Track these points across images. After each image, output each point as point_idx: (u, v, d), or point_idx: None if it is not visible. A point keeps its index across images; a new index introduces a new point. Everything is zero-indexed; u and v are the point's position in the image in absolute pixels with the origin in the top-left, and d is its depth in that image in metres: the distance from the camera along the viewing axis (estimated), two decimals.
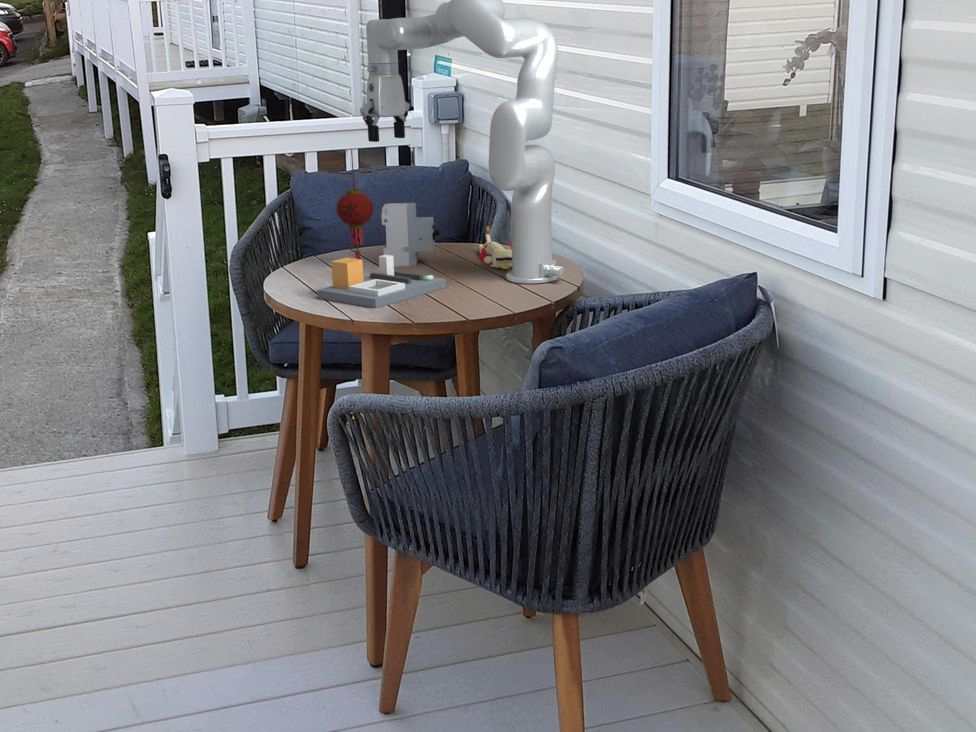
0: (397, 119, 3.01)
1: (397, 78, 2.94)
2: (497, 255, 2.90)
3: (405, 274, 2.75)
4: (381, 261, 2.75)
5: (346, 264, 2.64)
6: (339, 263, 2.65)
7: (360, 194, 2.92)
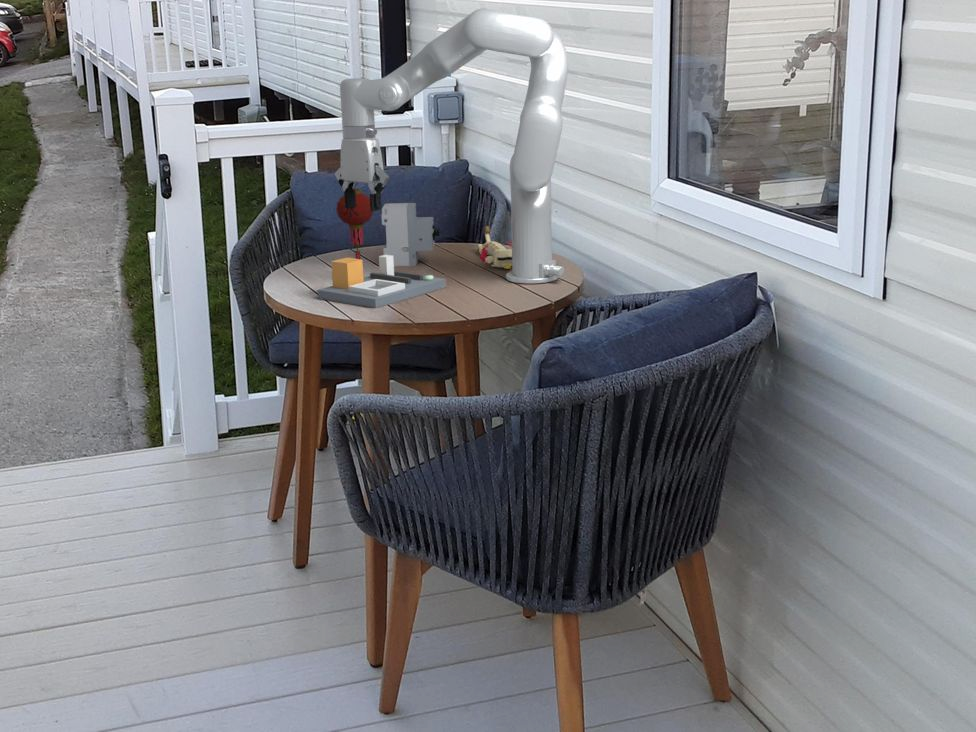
0: (348, 187, 2.77)
1: None
2: (498, 255, 2.90)
3: (405, 274, 2.75)
4: (381, 261, 2.75)
5: (346, 264, 2.64)
6: (339, 263, 2.65)
7: (360, 194, 2.92)
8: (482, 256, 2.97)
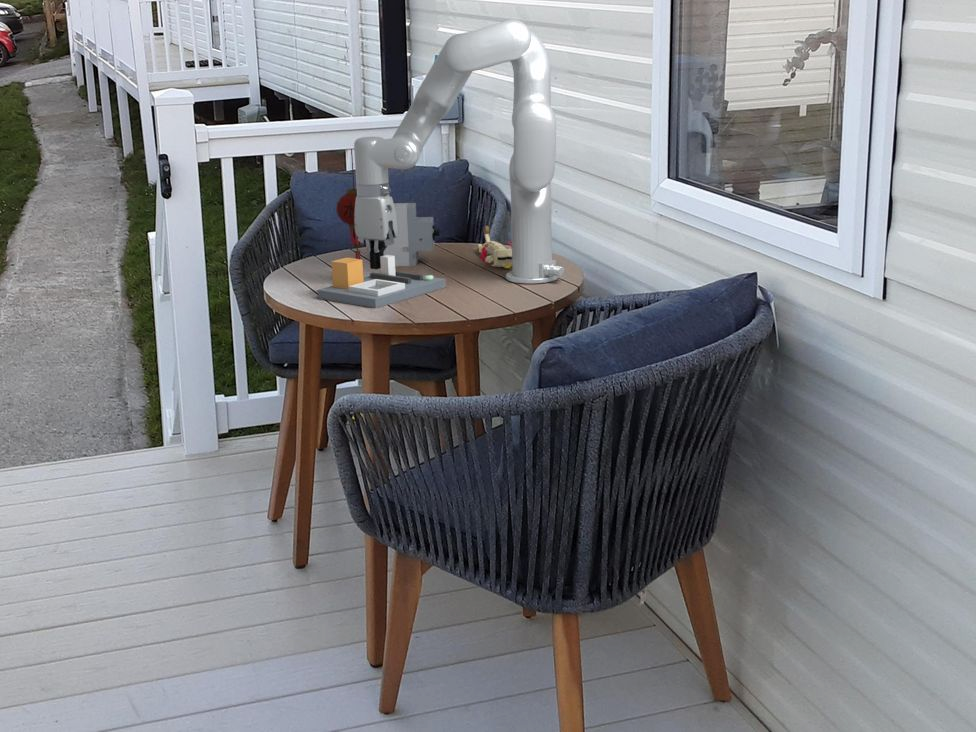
0: (372, 246, 2.76)
1: None
2: (499, 254, 2.91)
3: (405, 274, 2.75)
4: (383, 261, 2.74)
5: (346, 264, 2.64)
6: (339, 263, 2.65)
7: None
8: (482, 256, 2.97)
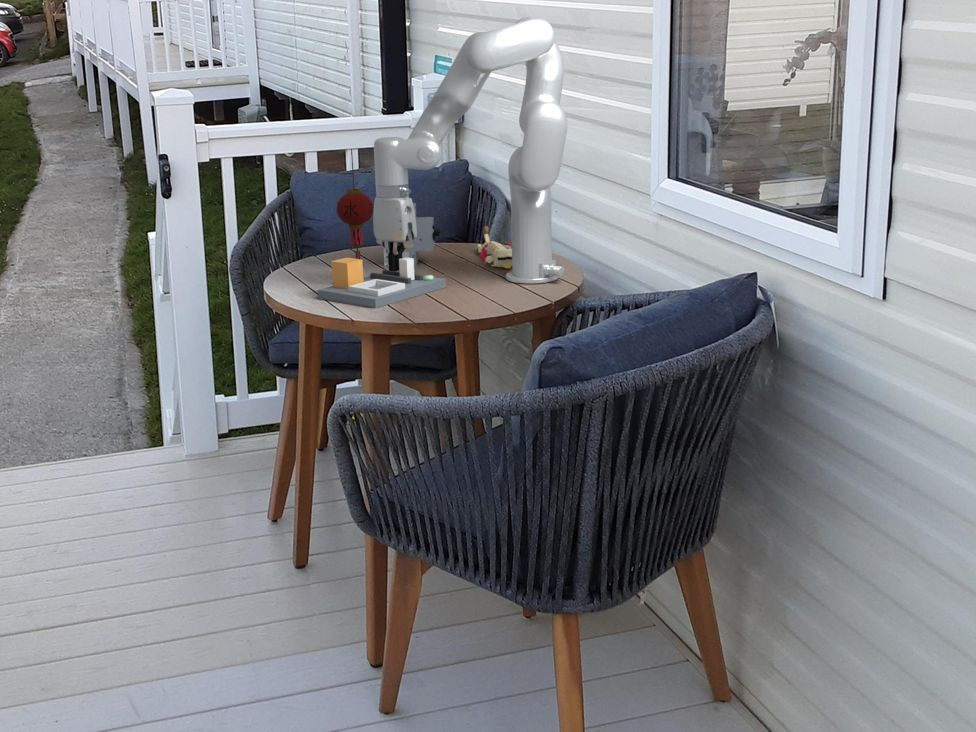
0: (391, 248, 2.73)
1: None
2: (499, 254, 2.91)
3: None
4: (402, 264, 2.71)
5: (346, 264, 2.64)
6: (339, 263, 2.65)
7: (360, 194, 2.92)
8: (482, 256, 2.97)
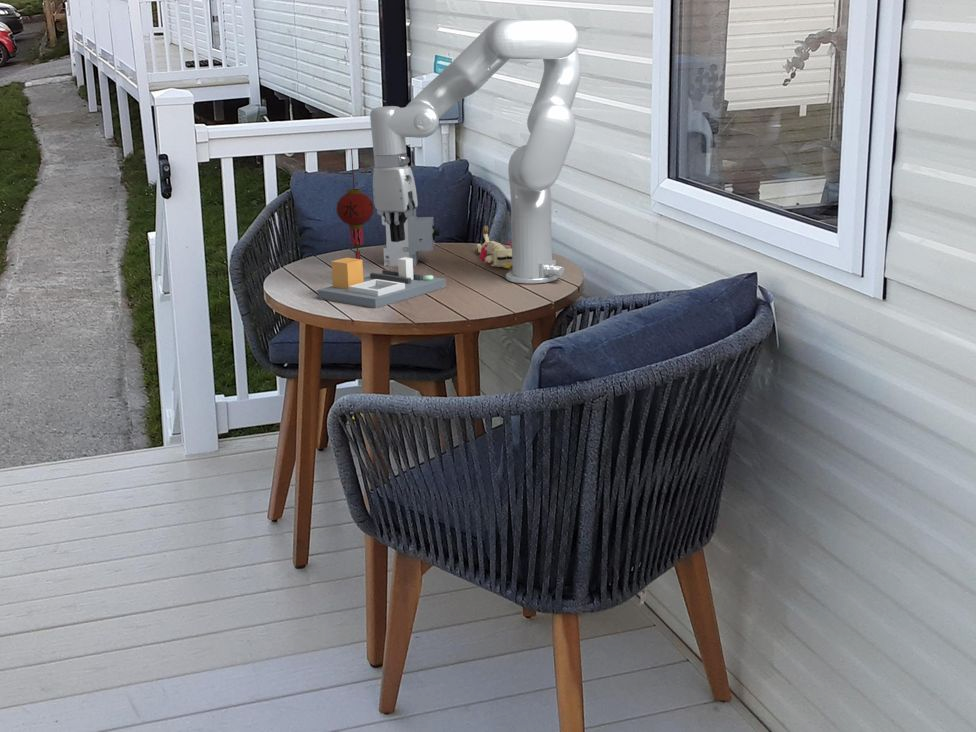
0: (392, 218, 2.71)
1: None
2: (498, 254, 2.91)
3: None
4: (401, 264, 2.71)
5: (346, 264, 2.64)
6: (339, 263, 2.65)
7: (360, 194, 2.92)
8: (482, 256, 2.97)
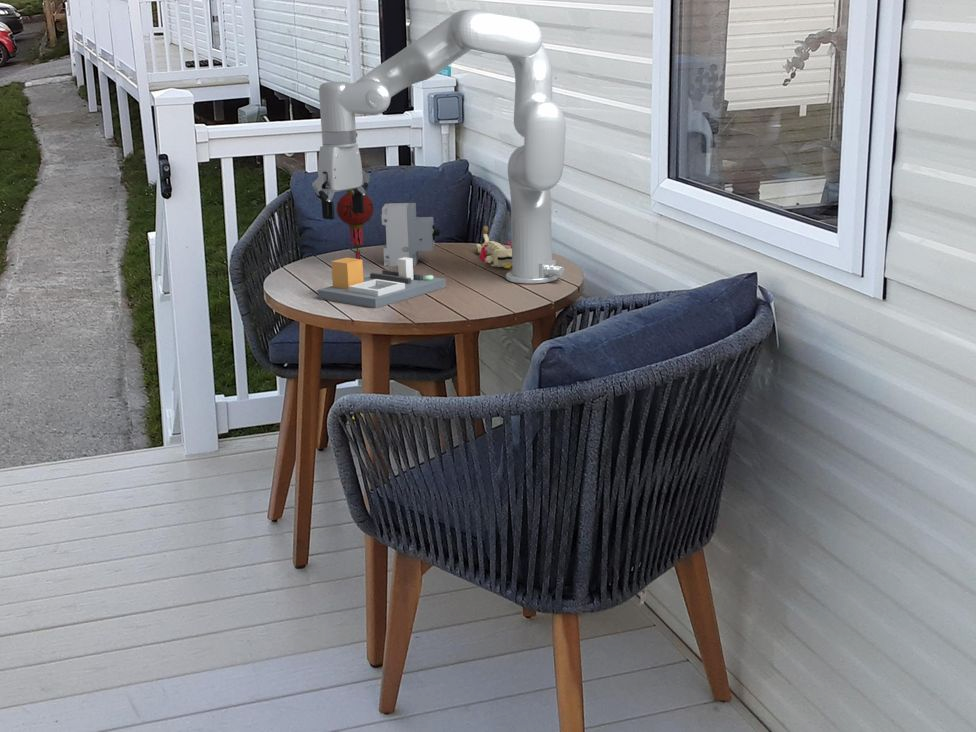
0: None
1: None
2: (499, 254, 2.91)
3: None
4: (401, 264, 2.71)
5: (346, 264, 2.64)
6: (339, 263, 2.65)
7: None
8: (482, 256, 2.97)
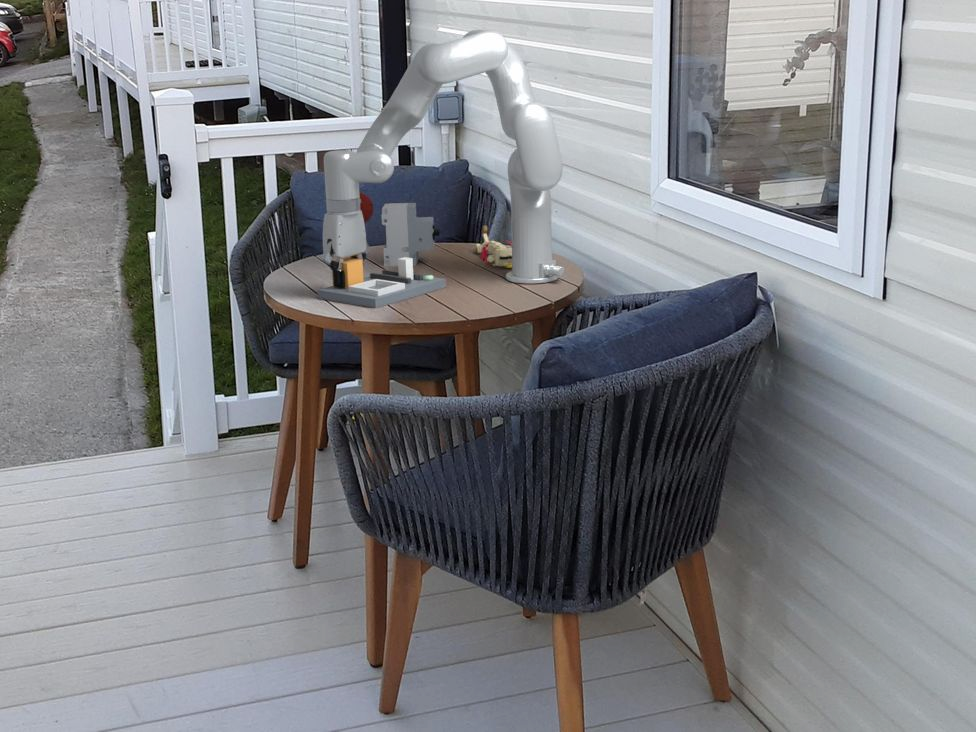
0: None
1: None
2: (500, 254, 2.91)
3: None
4: (401, 264, 2.71)
5: (346, 264, 2.64)
6: None
7: (360, 194, 2.92)
8: (483, 255, 2.97)
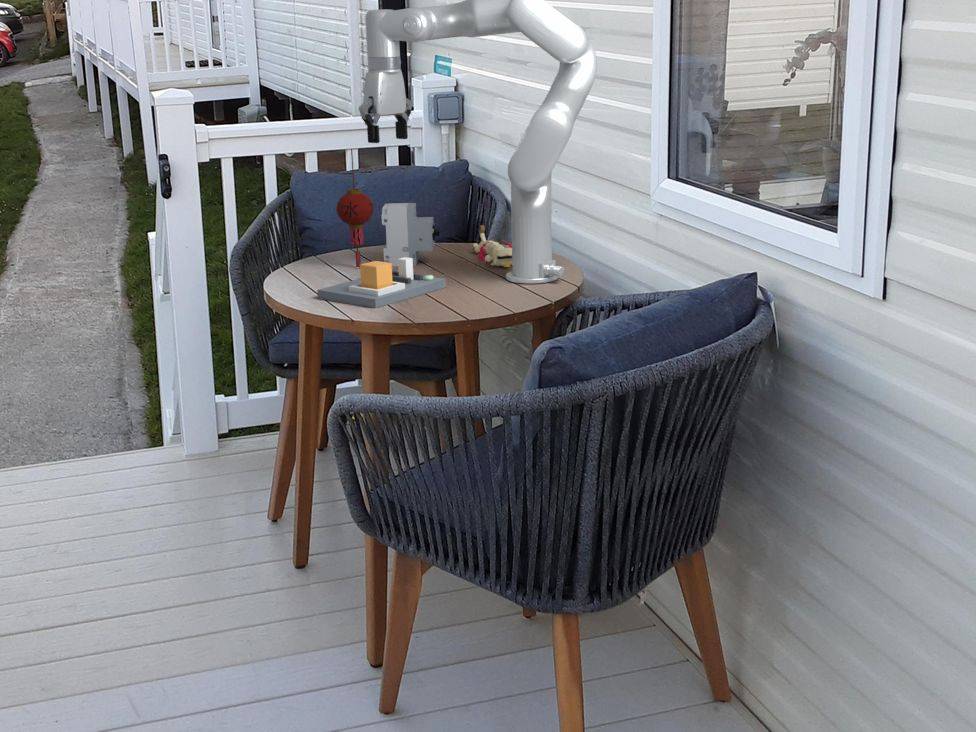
0: None
1: None
2: (498, 253, 2.92)
3: None
4: (401, 264, 2.71)
5: (375, 267, 2.59)
6: (368, 266, 2.60)
7: (360, 194, 2.92)
8: (480, 255, 2.98)
